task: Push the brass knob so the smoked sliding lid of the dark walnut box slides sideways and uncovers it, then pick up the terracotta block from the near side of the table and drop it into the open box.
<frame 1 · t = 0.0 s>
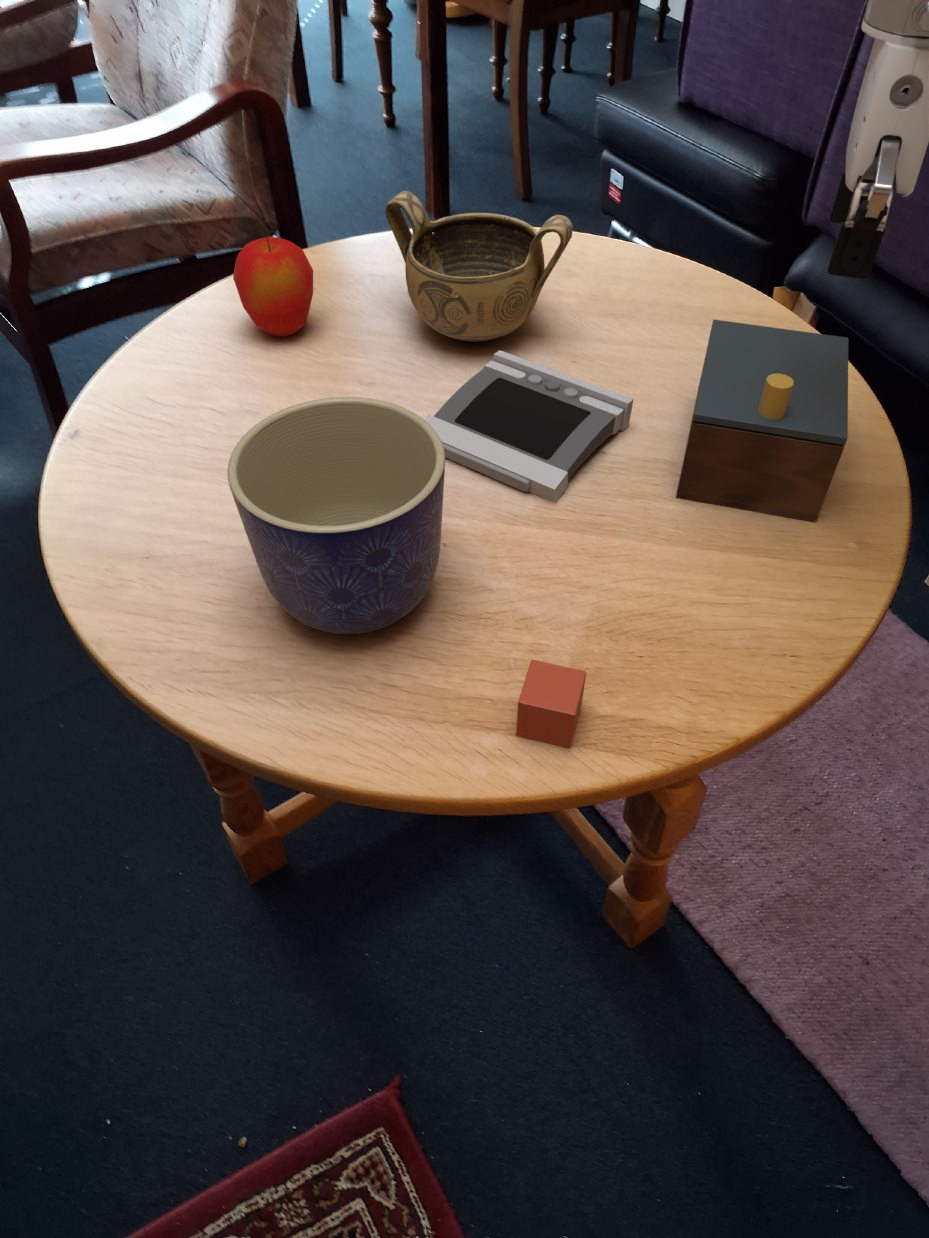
hand: (847, 248, 75), 24 cm above the table, tool pointing down, fingers open, 9 cm apart
alarm clock: (522, 437, 97), on the table
apple: (283, 332, 112), on the table
box: (751, 456, 94), on the table
lid: (778, 362, 86), point 11 cm above the table, slide at 0.0 cm
block: (549, 720, 72), on the table
ceramic bowl: (475, 330, 112), on the table
planter: (355, 594, 81), on the table
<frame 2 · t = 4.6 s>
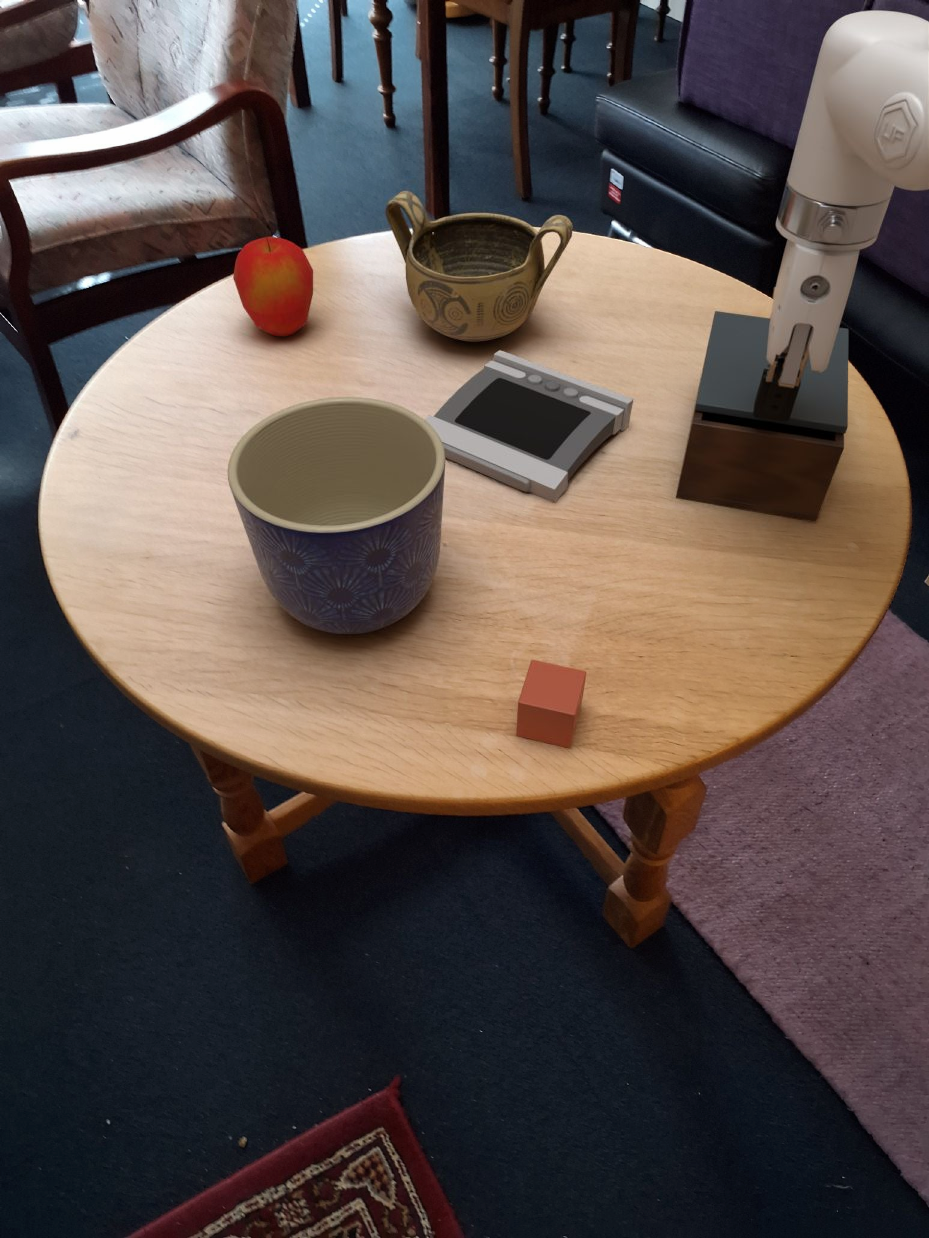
hand: (770, 414, 81), 11 cm above the table, tool pointing down, fingers closed
lid: (779, 352, 87), point 11 cm above the table, slide at 1.8 cm, touching gripper
everything else where it was.
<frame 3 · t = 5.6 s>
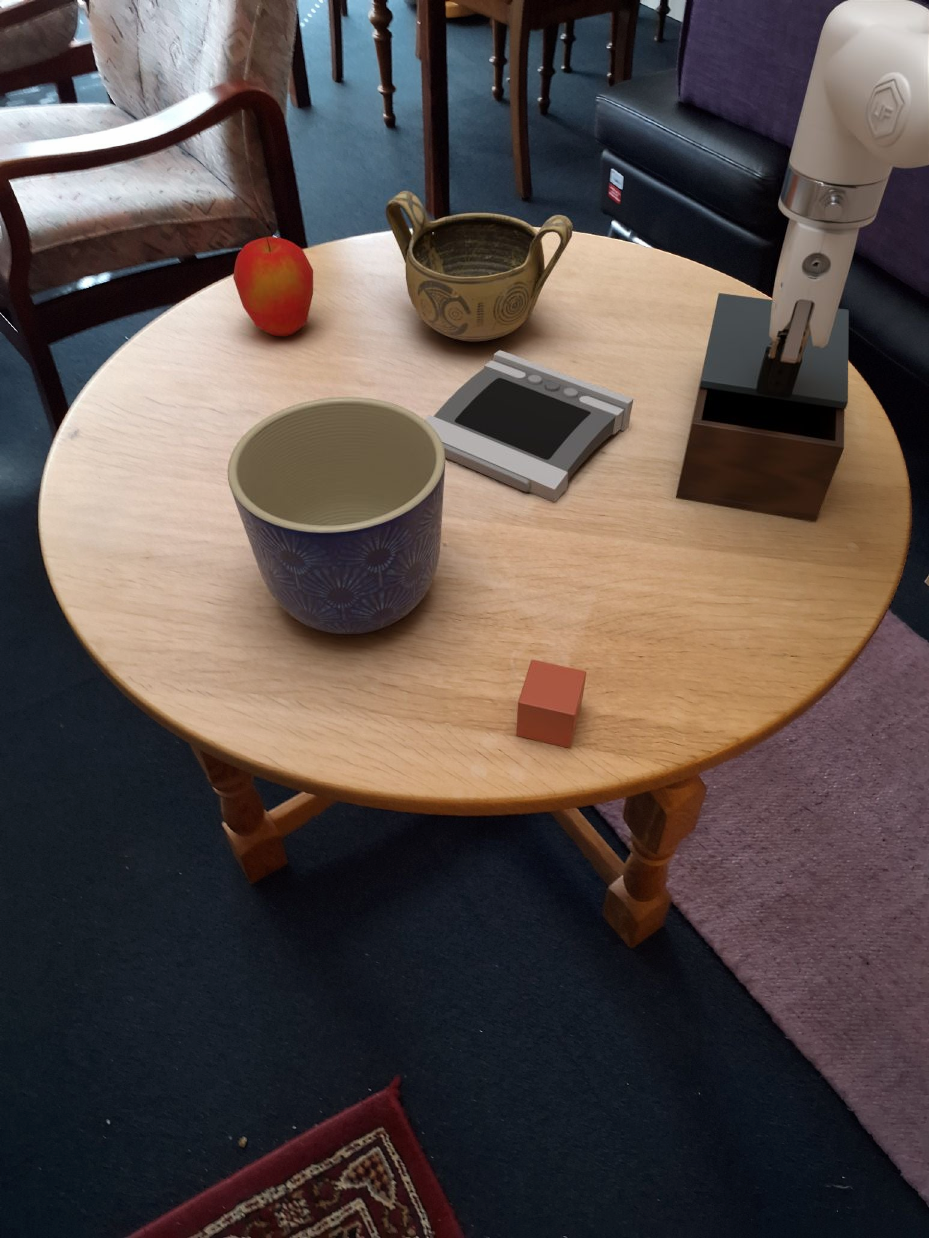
hand: (773, 391, 84), 11 cm above the table, tool pointing down, fingers closed
lid: (781, 332, 89), point 11 cm above the table, slide at 5.8 cm, touching gripper
everything else where it was.
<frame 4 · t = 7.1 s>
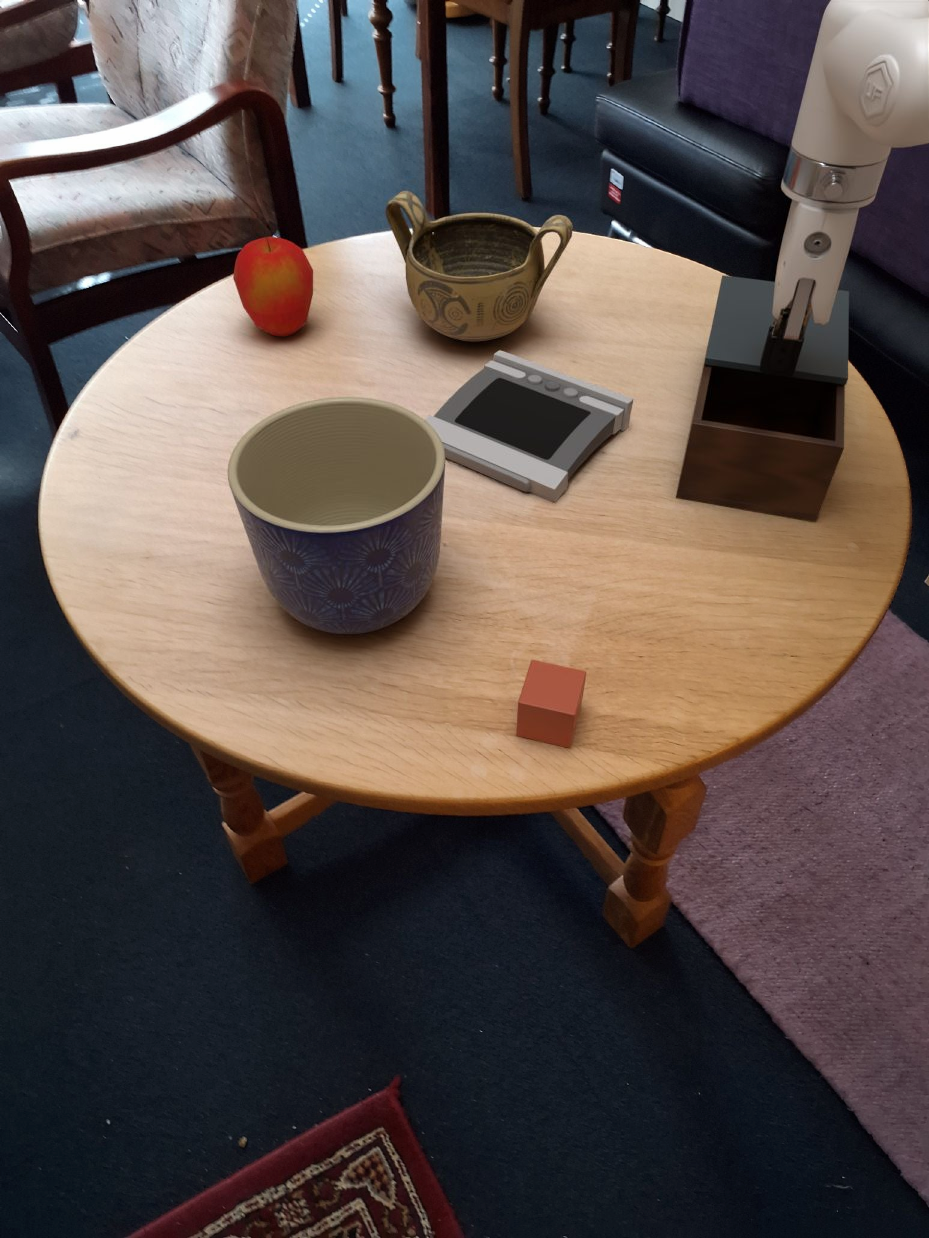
hand: (776, 369, 86), 10 cm above the table, tool pointing down, fingers closed
lid: (783, 311, 92), point 11 cm above the table, slide at 9.9 cm
everything else where it was.
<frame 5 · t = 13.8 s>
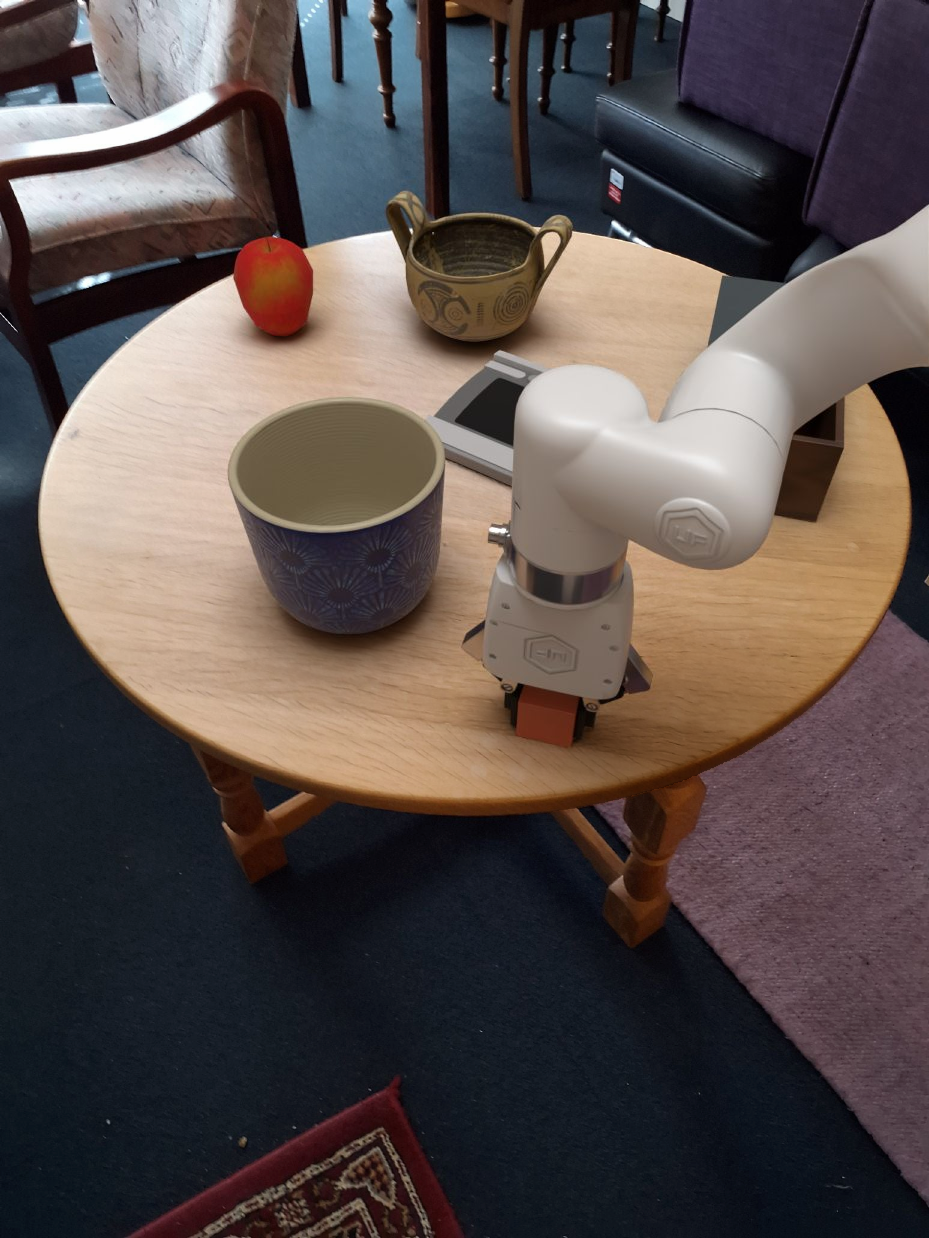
hand: (549, 717, 71), 0 cm above the table, tool pointing down, fingers closed on block, 4 cm apart
block: (549, 720, 72), on the table, touching gripper
everything else where it was.
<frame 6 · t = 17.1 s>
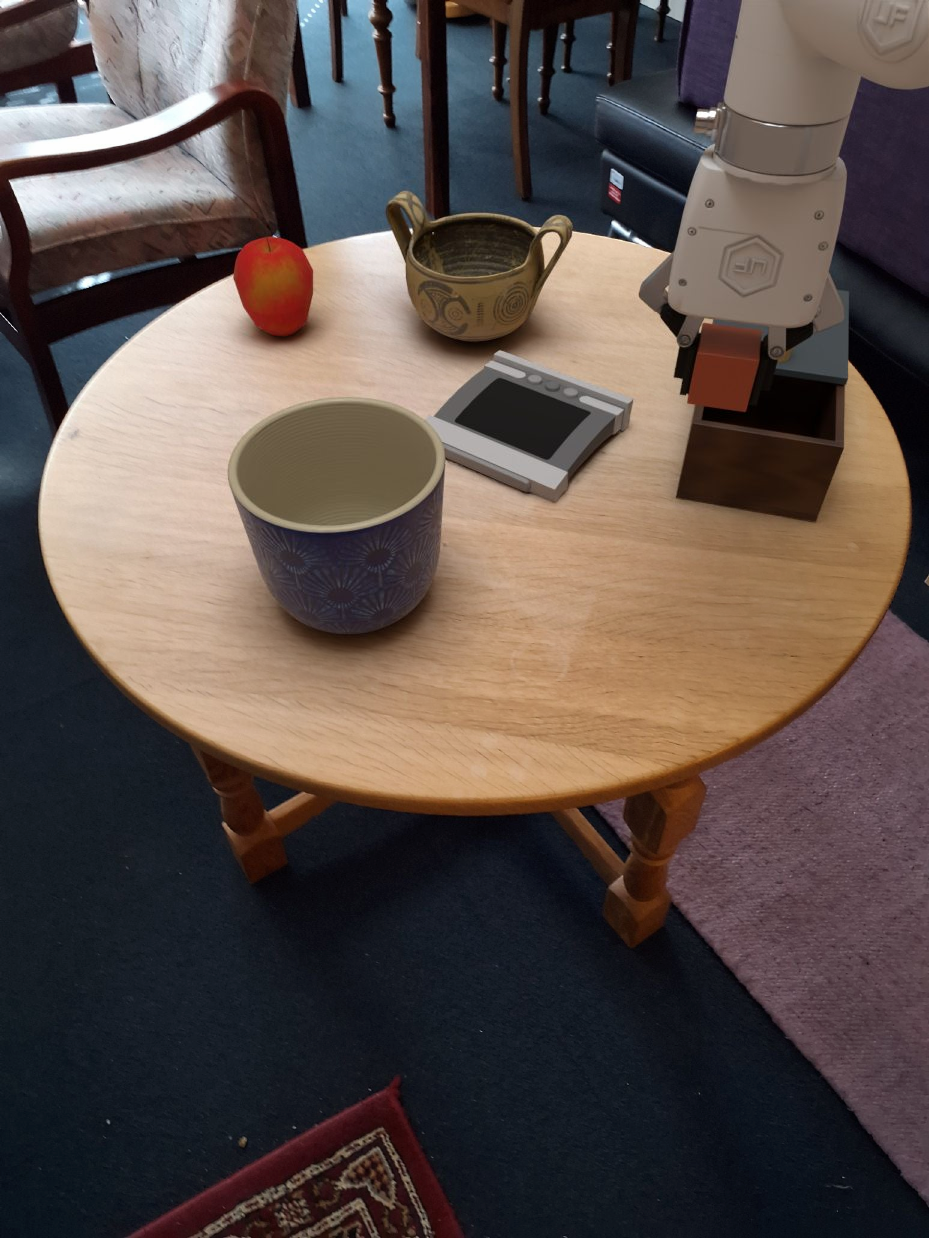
hand: (719, 388, 69), 19 cm above the table, tool pointing down, fingers closed on block, 4 cm apart
block: (718, 392, 69), point 19 cm above the table, touching gripper
everything else where it was.
when the fingers open (8 cm above the table, at t = 20.7 s): block drops 7 cm, resting on box.
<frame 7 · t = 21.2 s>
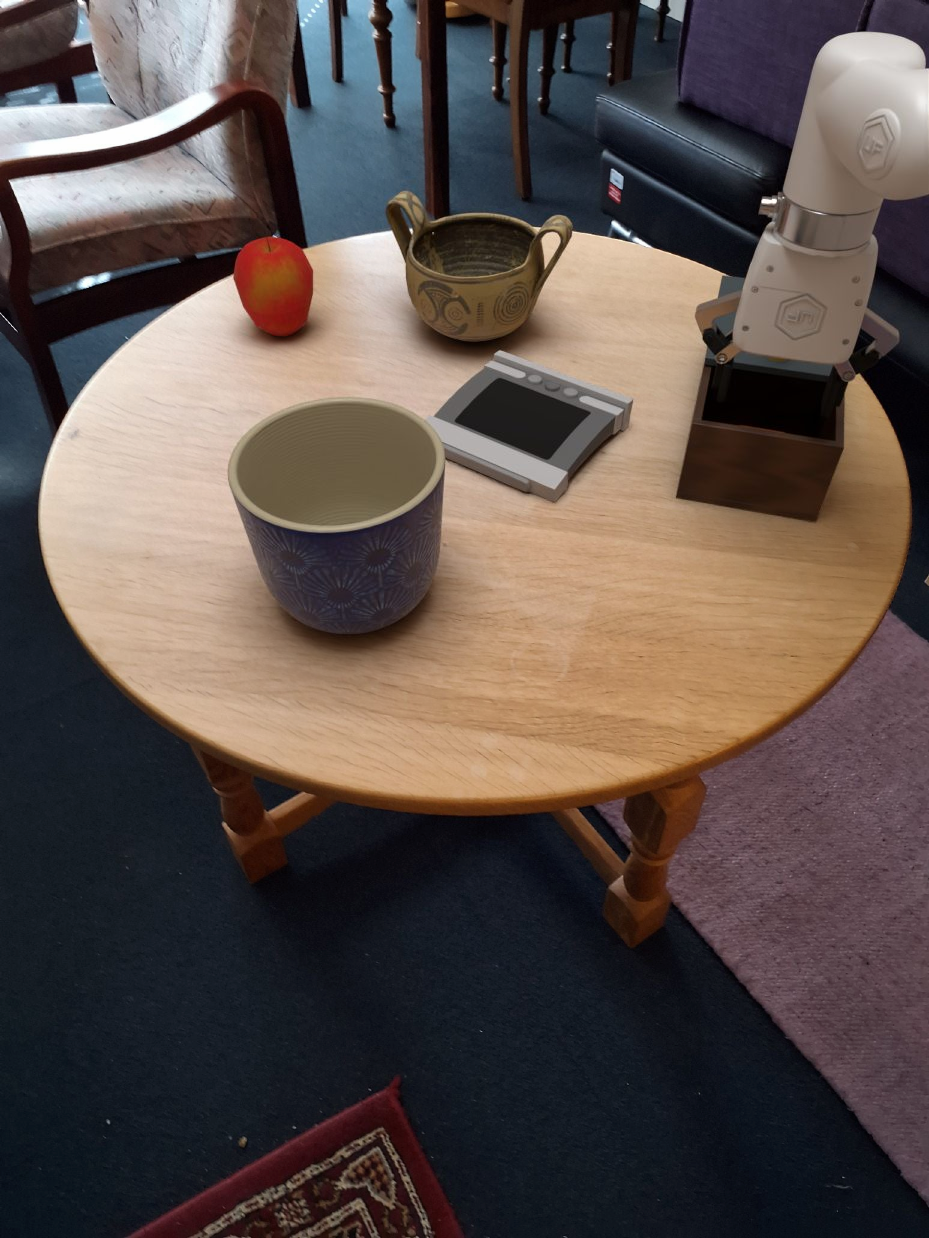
hand: (772, 402, 84), 10 cm above the table, tool pointing down, fingers open, 9 cm apart
block: (750, 476, 91), point 1 cm above the table, touching box
everything else where it was.
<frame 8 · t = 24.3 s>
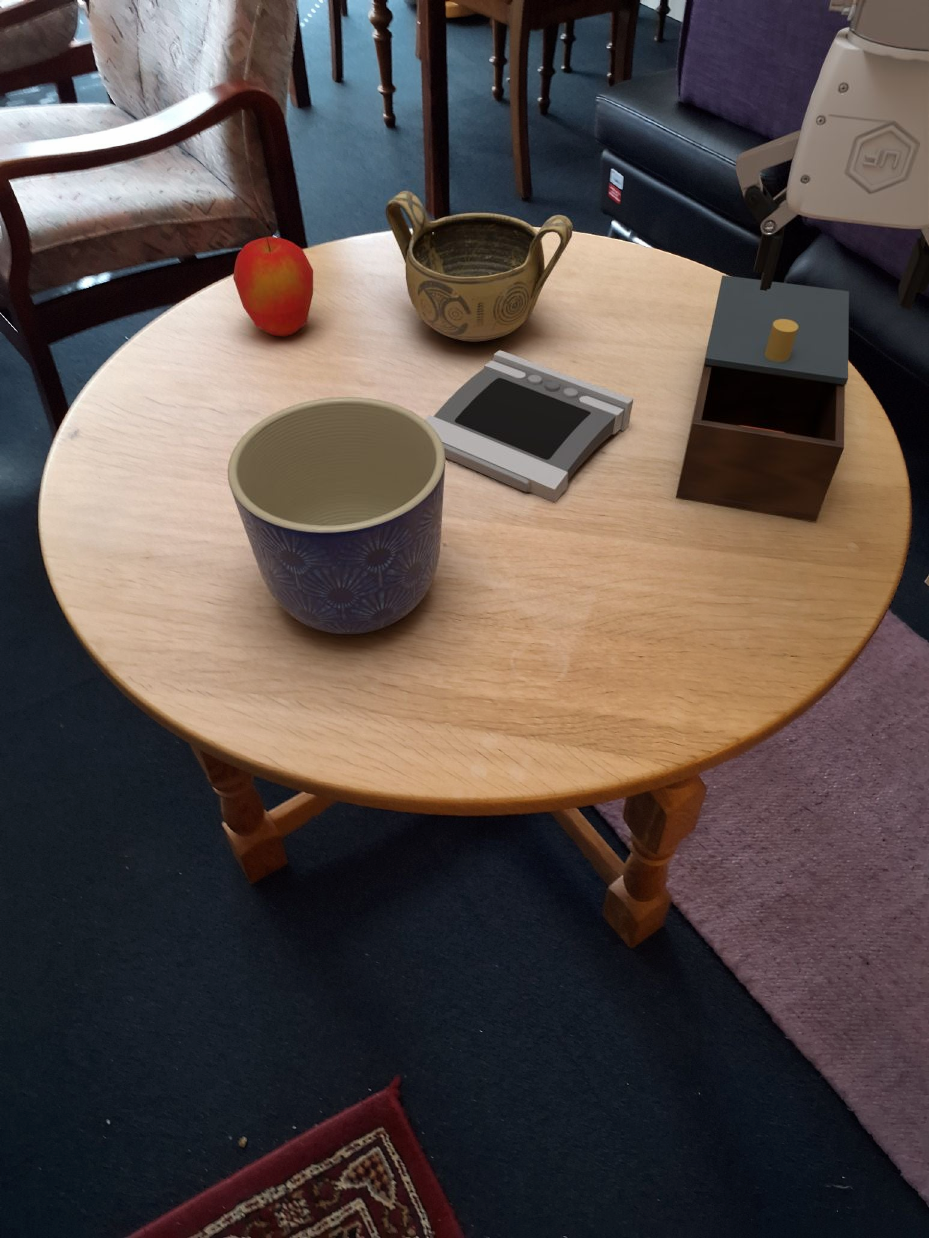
hand: (833, 290, 65), 26 cm above the table, tool pointing down, fingers open, 9 cm apart
nothing on the table moved.
at the end: lid slide at 9.9 cm; block inside the target area on the box (4.4 cm from its centre), point 0.8 cm above the box's base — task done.
